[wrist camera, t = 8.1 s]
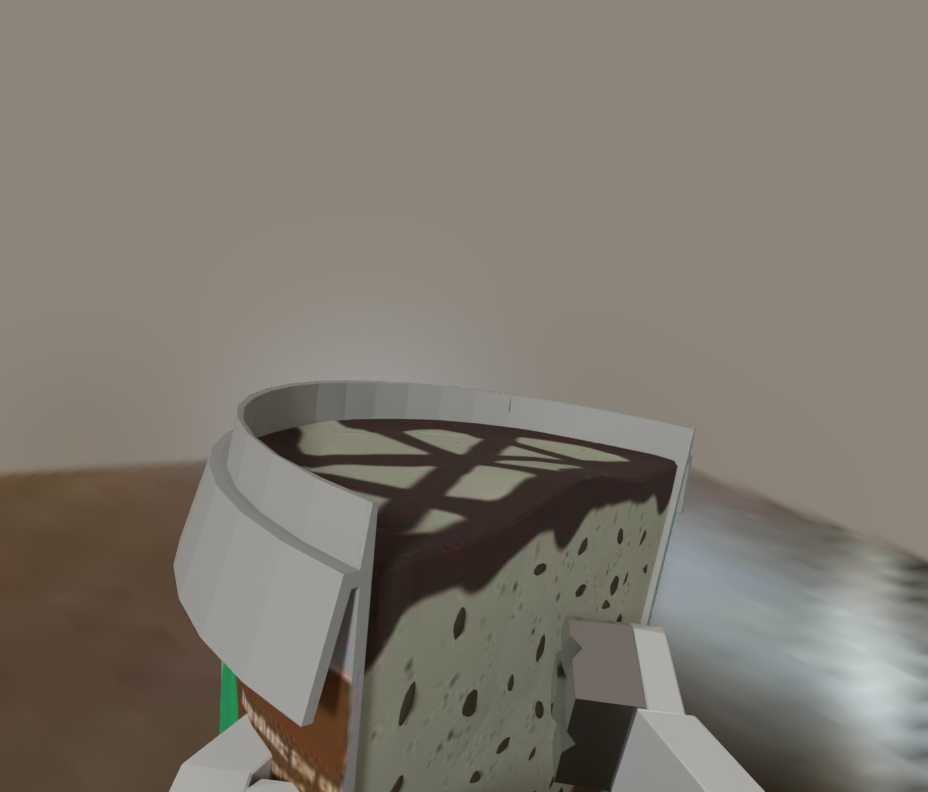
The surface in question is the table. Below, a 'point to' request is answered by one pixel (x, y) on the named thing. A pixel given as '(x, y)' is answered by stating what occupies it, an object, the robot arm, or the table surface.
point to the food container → (418, 573)
